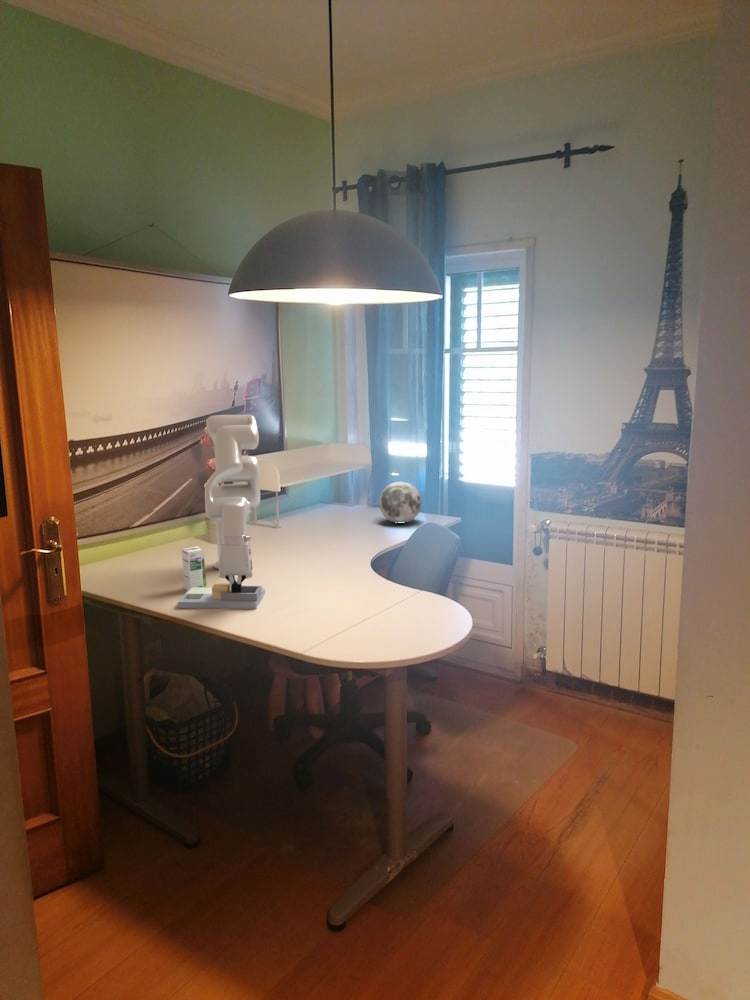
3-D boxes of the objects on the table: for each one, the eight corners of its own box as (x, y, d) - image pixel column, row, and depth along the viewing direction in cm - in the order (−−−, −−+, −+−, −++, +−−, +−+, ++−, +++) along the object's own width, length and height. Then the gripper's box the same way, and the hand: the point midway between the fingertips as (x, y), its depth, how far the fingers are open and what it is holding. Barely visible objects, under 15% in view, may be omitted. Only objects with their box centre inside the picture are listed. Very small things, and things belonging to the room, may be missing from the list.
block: (216, 594, 241) (215, 582, 240) (231, 594, 240) (230, 582, 240) (212, 599, 236) (211, 587, 235) (227, 599, 236) (227, 587, 235)
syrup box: (190, 592, 248) (188, 551, 246) (183, 588, 253) (181, 547, 250) (206, 589, 252) (204, 548, 249) (199, 585, 256) (197, 545, 254)
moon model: (377, 518, 359) (377, 478, 355) (418, 518, 360) (418, 478, 356) (380, 528, 339) (380, 485, 335) (423, 527, 340) (424, 485, 336)
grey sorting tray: (191, 592, 248) (191, 580, 248) (264, 593, 247) (264, 580, 247) (178, 607, 234) (177, 594, 233) (256, 608, 233) (255, 595, 232)
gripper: (259, 537, 238) (261, 591, 241) (214, 537, 238) (216, 591, 242) (255, 543, 230) (257, 598, 234) (208, 542, 231) (211, 598, 234)
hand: (236, 594), depth 238 cm, fingers closed
